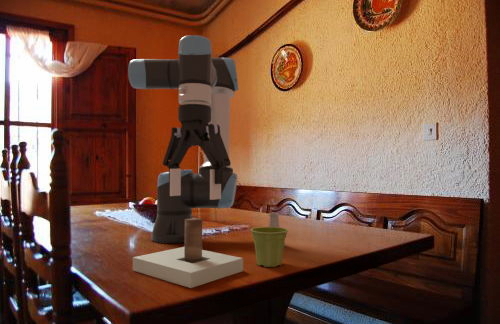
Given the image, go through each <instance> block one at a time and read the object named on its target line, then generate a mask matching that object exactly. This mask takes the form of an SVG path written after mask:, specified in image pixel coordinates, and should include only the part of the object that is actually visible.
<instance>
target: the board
mask: <svg viewBox="0 0 500 324" xmlns="http://www.w3.org/2000/svg"><path fill="white" fill-rule="evenodd" d="M184 249H185V246H182V247H177V248H171V249H167V250H162V251H157V252H152V253H148V254H143V255H138V256H132V271H134V272H137V273H140V274H144V275H147V276H150V277H153V278H156V279H160V280H163V281H166V282H169V283H172V284H176V285H179V286H183V287H186V288H189V289H192V288H195V287H198V286H201V285H202V286H203V285H204V284H207V283H211V282H213V281H217V280H220V279H223V278H227V277H229V276H232V275H235V274H238V273H241V272H243V271H244V257H239V256H234V255H229V254H224V253H219V252H214V251H211V250H204V249H202V261H200V262H196V263H189V262H185V261H184Z"/></svg>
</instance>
